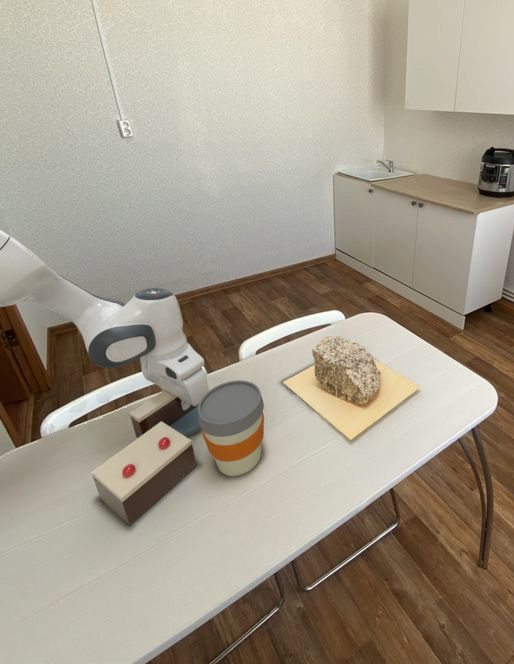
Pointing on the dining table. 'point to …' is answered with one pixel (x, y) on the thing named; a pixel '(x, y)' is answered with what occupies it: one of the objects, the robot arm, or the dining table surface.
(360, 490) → the dining table surface
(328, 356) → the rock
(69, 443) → the dining table surface
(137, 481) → the cake
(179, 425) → the plate
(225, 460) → the reusable coffee cup
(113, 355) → the robot arm
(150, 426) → the cake slice
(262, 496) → the dining table surface
